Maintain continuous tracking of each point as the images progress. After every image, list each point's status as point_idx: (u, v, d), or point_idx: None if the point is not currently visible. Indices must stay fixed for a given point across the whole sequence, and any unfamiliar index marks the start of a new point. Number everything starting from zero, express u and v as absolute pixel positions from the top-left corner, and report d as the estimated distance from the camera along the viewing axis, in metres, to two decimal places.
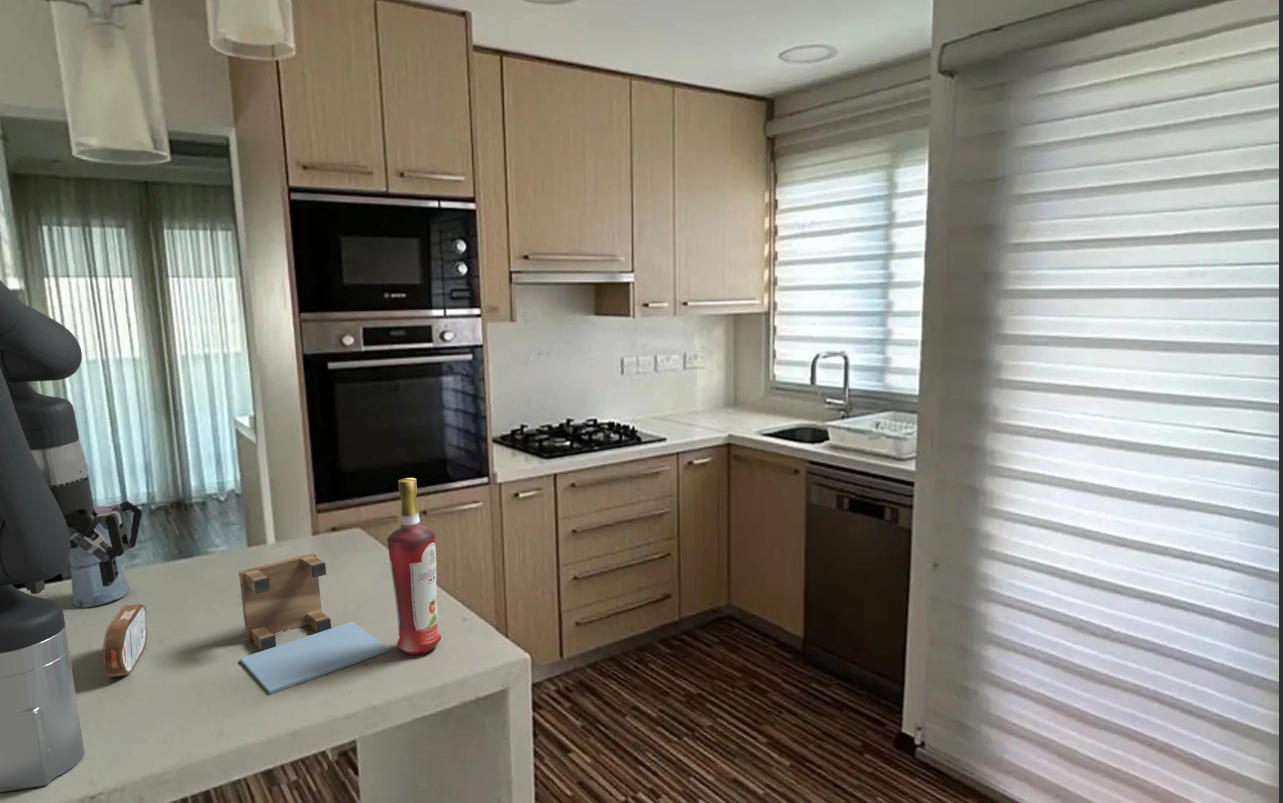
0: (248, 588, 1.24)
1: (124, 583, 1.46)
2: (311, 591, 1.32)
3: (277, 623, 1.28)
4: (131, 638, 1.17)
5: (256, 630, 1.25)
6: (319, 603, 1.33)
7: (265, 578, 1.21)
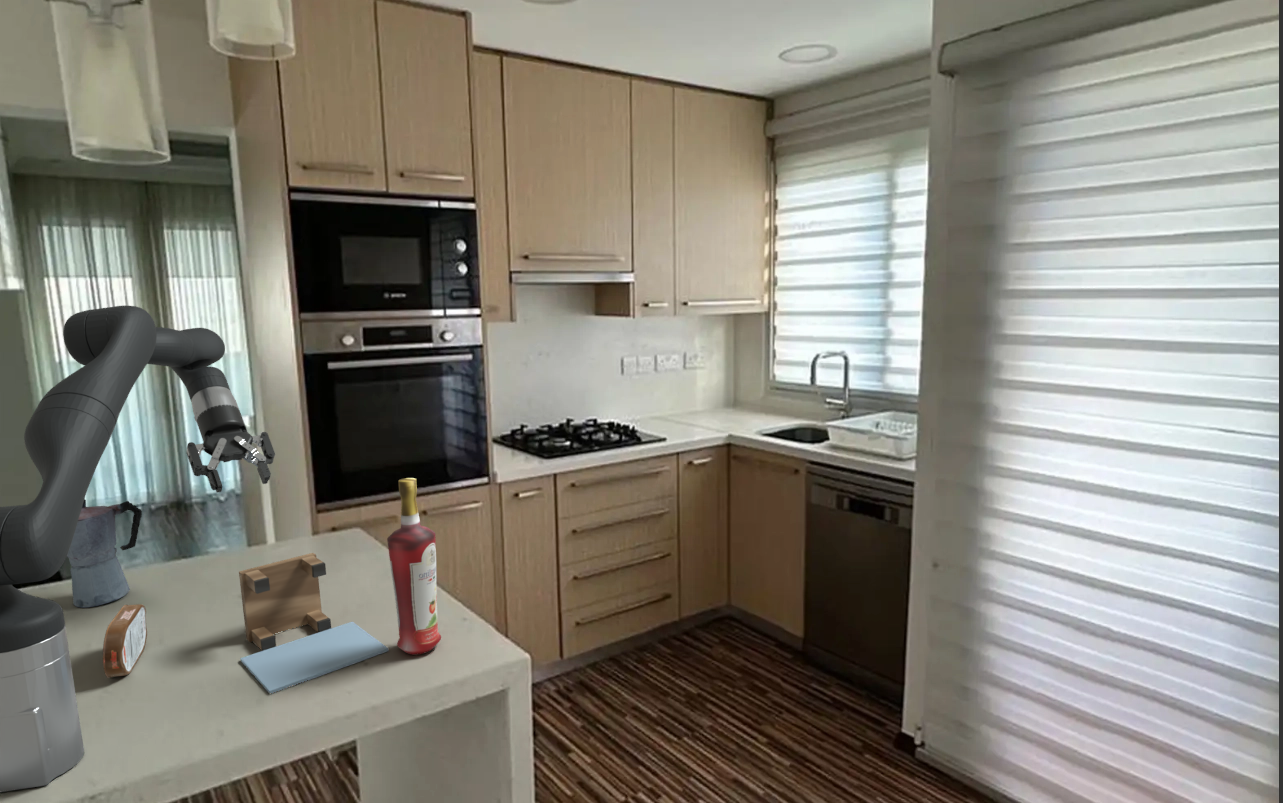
0: (248, 588, 1.24)
1: (124, 583, 1.46)
2: (311, 591, 1.32)
3: (277, 623, 1.28)
4: (131, 638, 1.17)
5: (256, 630, 1.25)
6: (319, 603, 1.33)
7: (265, 578, 1.21)
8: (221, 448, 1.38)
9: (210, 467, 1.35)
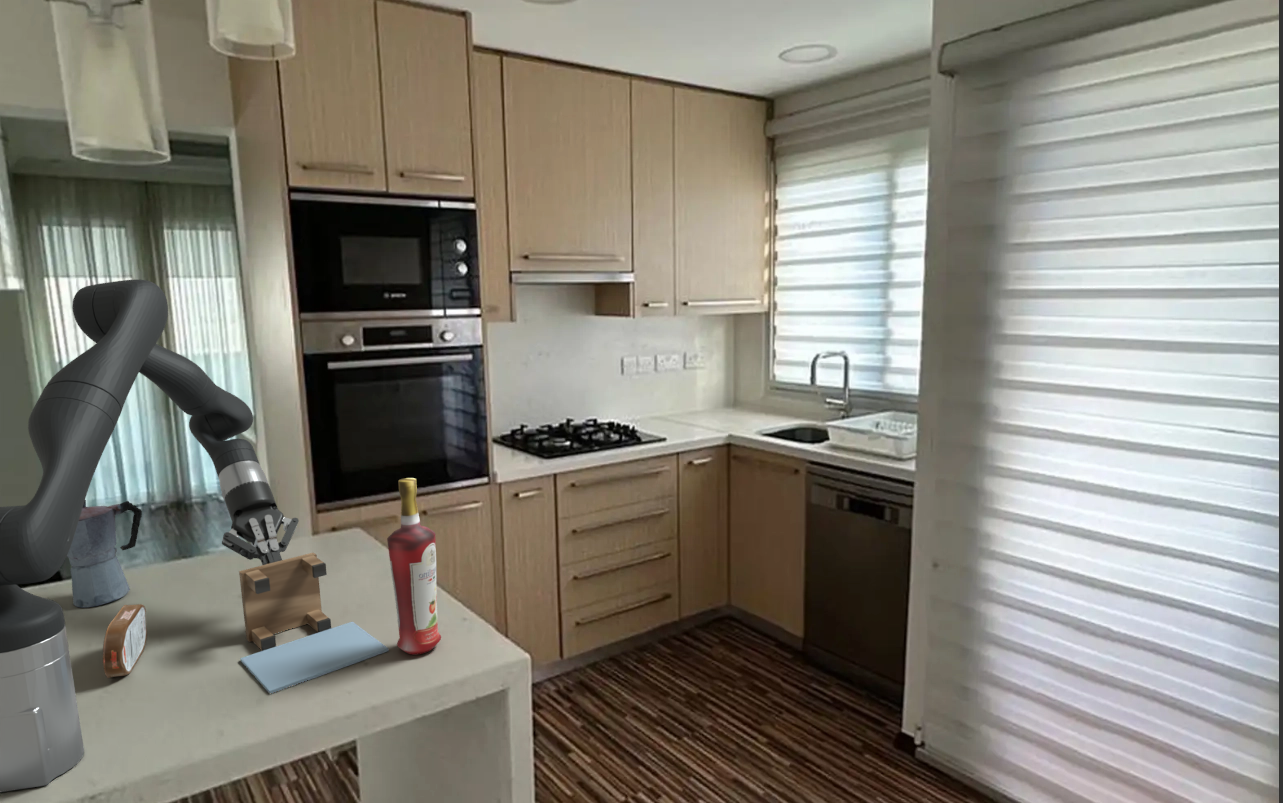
0: (248, 588, 1.24)
1: (124, 583, 1.46)
2: (311, 591, 1.31)
3: (277, 623, 1.28)
4: (131, 638, 1.17)
5: (256, 630, 1.25)
6: (319, 603, 1.33)
7: (265, 578, 1.21)
8: (258, 528, 1.31)
9: (265, 550, 1.29)
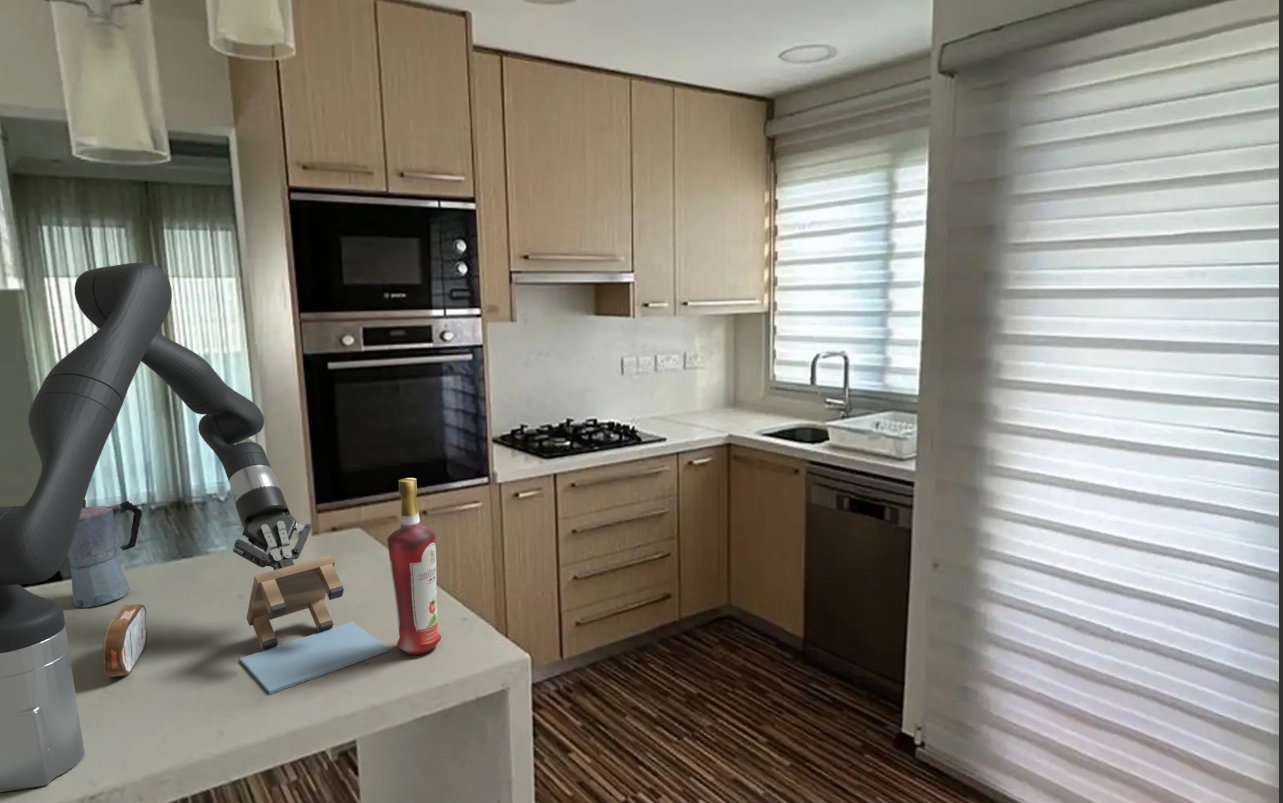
0: (261, 592, 1.19)
1: (124, 583, 1.46)
2: (320, 587, 1.28)
3: None
4: (131, 638, 1.17)
5: (259, 620, 1.23)
6: (324, 594, 1.30)
7: (282, 605, 1.16)
8: (270, 535, 1.27)
9: (277, 558, 1.25)
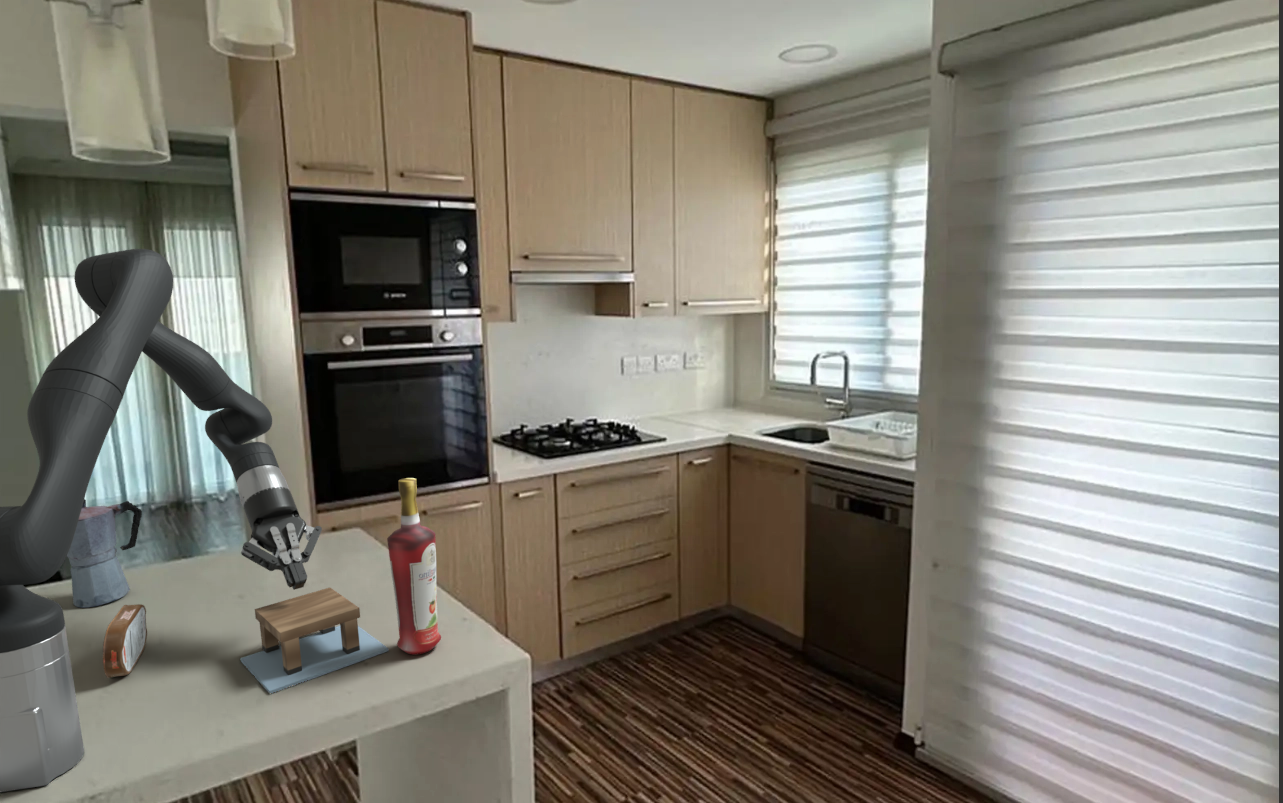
0: None
1: (124, 583, 1.46)
2: None
3: None
4: (131, 638, 1.17)
5: None
6: None
7: (299, 669, 1.14)
8: (279, 537, 1.23)
9: (287, 561, 1.21)
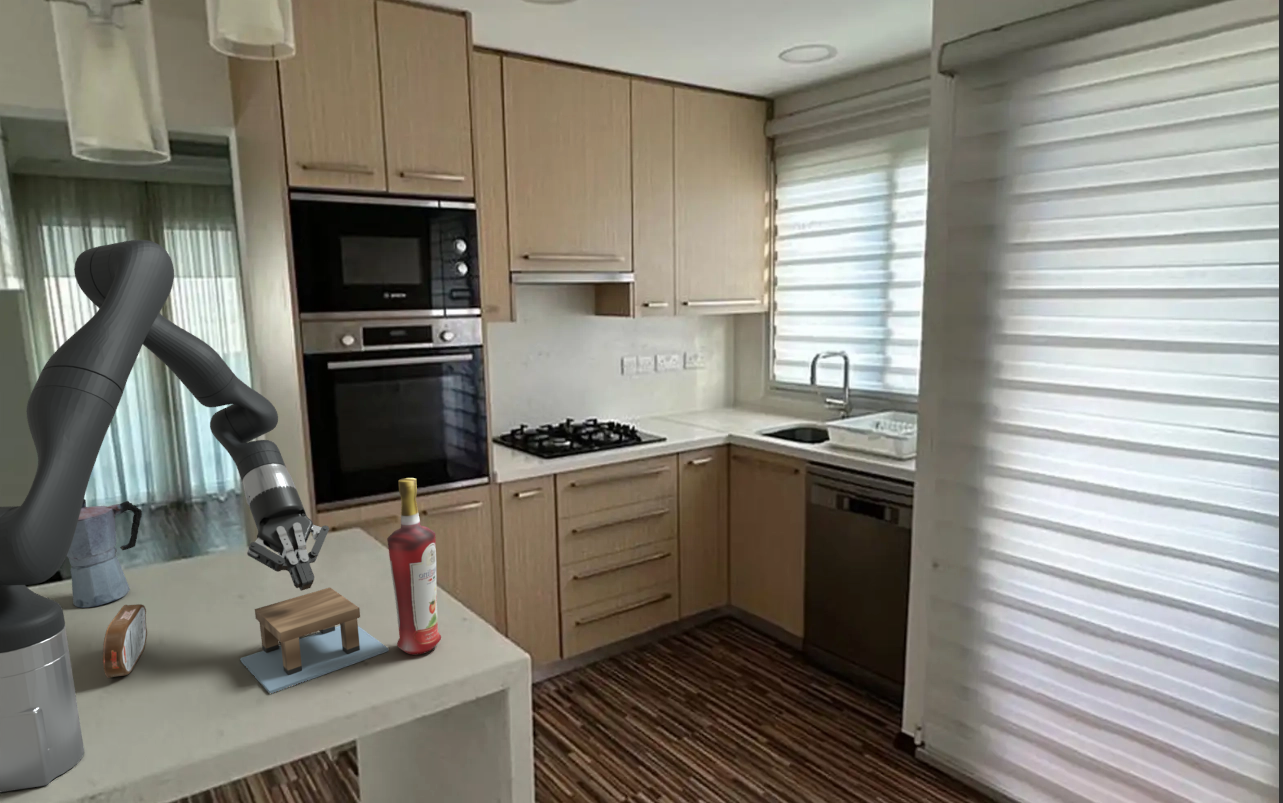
0: None
1: (124, 583, 1.46)
2: None
3: None
4: (131, 638, 1.17)
5: None
6: None
7: (299, 669, 1.14)
8: (286, 537, 1.21)
9: (294, 562, 1.19)
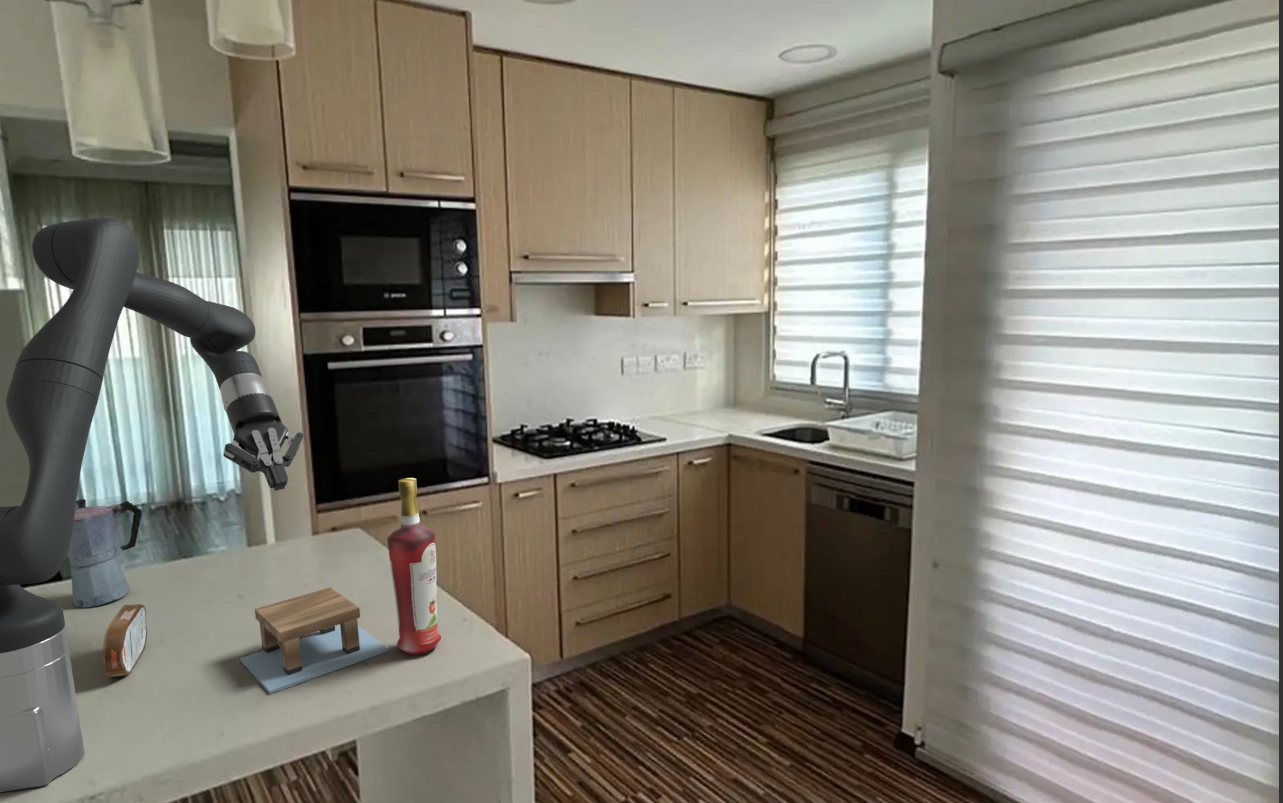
0: None
1: (124, 583, 1.46)
2: None
3: None
4: (131, 638, 1.17)
5: None
6: None
7: (299, 669, 1.14)
8: (261, 440, 1.25)
9: (268, 463, 1.24)
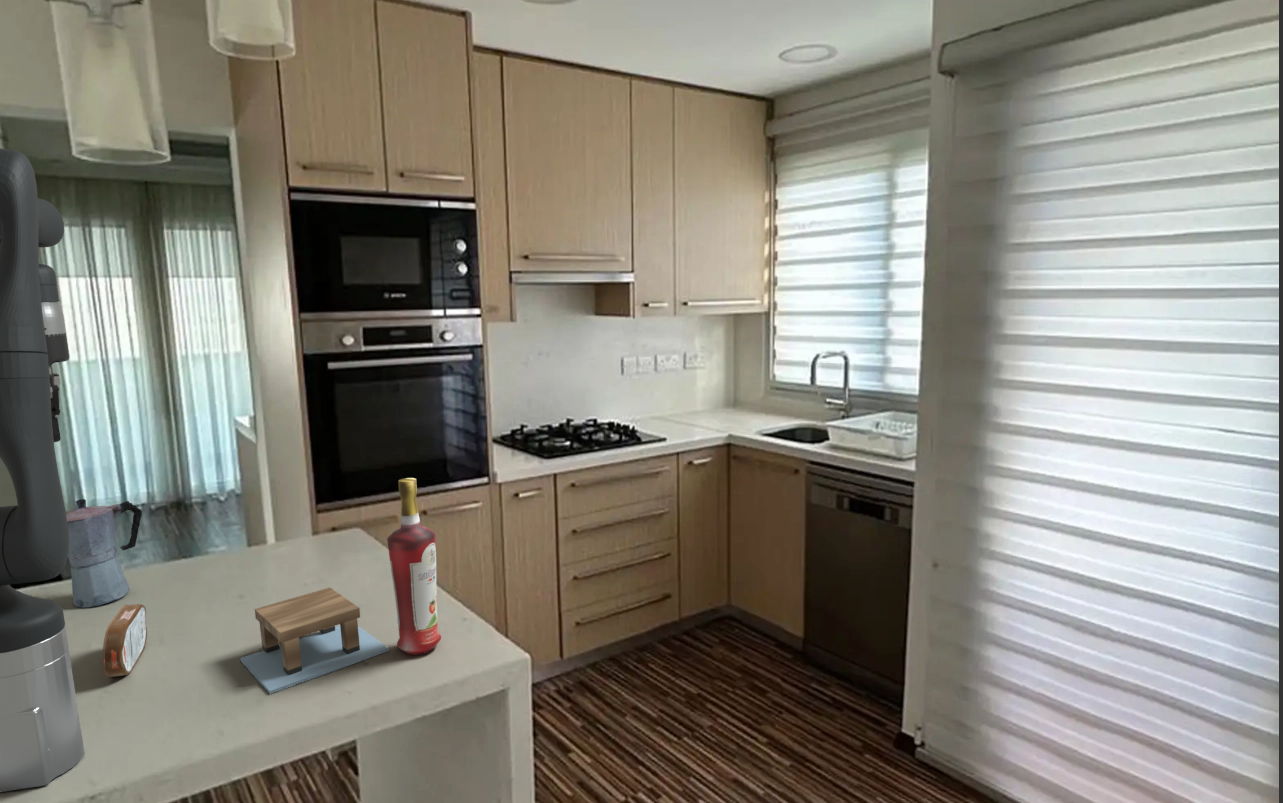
0: None
1: (124, 583, 1.46)
2: None
3: None
4: (131, 638, 1.17)
5: None
6: None
7: (299, 669, 1.14)
8: None
9: (58, 415, 1.19)
